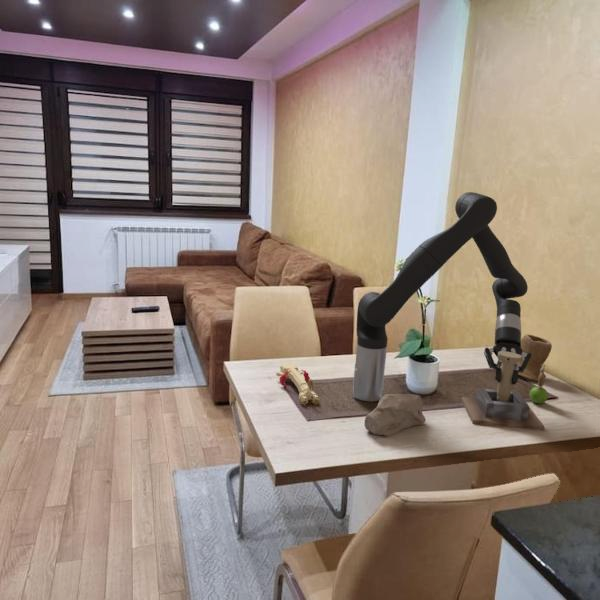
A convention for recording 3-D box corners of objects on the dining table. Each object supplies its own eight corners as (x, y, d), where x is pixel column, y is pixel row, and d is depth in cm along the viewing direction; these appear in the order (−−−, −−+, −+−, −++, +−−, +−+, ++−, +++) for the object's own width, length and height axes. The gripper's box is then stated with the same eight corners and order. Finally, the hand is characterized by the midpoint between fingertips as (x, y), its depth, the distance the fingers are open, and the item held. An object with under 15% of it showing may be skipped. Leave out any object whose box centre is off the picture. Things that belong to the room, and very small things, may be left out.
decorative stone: (410, 414, 156) (414, 382, 153) (430, 424, 150) (434, 392, 147) (359, 430, 144) (363, 396, 142) (378, 442, 138) (382, 407, 136)
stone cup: (553, 380, 189) (560, 340, 185) (530, 384, 183) (538, 344, 180) (519, 365, 202) (525, 328, 198) (497, 369, 196) (503, 331, 193)
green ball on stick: (546, 400, 170) (552, 365, 168) (546, 407, 165) (552, 372, 162) (528, 396, 173) (534, 362, 170) (527, 404, 167) (533, 368, 164)
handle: (512, 406, 154) (520, 359, 150) (489, 401, 157) (497, 354, 153) (514, 401, 158) (522, 354, 154) (492, 395, 161) (499, 350, 157)
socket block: (472, 423, 151) (475, 405, 150) (461, 400, 167) (463, 383, 165) (543, 430, 150) (546, 411, 148) (525, 406, 165) (528, 389, 164)
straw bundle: (325, 407, 160) (298, 370, 182) (328, 381, 157) (300, 347, 179) (294, 410, 156) (271, 373, 179) (296, 384, 154) (273, 349, 176)
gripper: (485, 322, 161) (483, 373, 152) (535, 328, 157) (534, 381, 149) (482, 334, 167) (479, 383, 159) (529, 340, 164) (529, 391, 155)
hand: (506, 382), depth 154 cm, fingers closed on handle, 3 cm apart
